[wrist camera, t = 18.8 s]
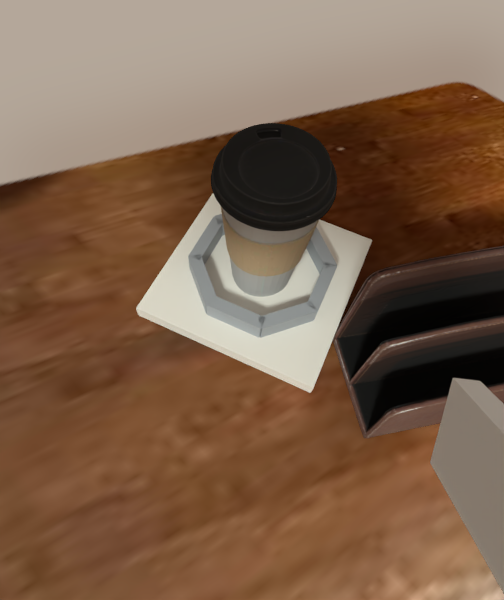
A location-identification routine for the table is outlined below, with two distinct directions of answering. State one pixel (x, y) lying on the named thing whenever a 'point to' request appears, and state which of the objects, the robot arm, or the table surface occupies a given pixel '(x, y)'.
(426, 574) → the table surface
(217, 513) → the table surface
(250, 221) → the coffee cup
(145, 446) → the table surface
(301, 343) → the dock board
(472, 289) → the letter holder
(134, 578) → the table surface
